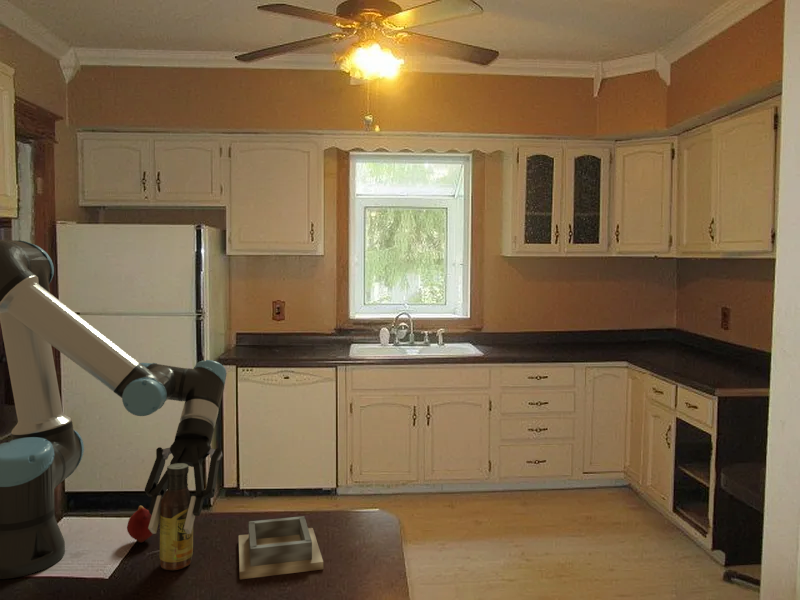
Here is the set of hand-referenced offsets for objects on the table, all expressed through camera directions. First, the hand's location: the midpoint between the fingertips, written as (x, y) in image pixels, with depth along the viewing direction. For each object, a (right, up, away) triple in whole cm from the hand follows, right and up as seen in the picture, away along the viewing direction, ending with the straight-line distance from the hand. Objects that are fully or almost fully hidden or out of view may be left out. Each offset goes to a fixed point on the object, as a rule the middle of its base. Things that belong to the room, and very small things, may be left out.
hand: (169, 530), depth 117 cm
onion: (-11, -8, +13) cm, 19 cm away
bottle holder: (+19, -8, +8) cm, 23 cm away
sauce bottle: (0, -8, +4) cm, 9 cm away
